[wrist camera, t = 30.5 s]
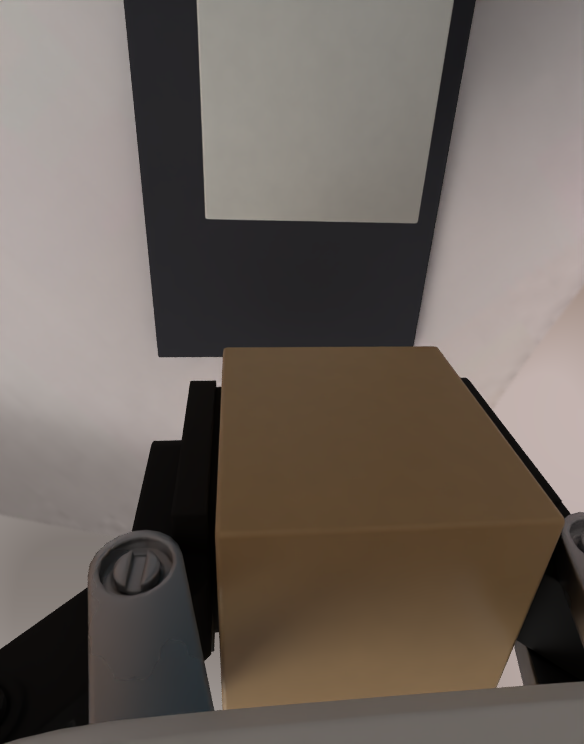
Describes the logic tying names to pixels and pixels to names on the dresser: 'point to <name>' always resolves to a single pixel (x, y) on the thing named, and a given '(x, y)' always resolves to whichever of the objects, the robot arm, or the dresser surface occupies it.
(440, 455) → the kraft box
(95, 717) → the robot arm
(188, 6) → the mat
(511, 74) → the dresser surface
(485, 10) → the dresser surface
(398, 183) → the cream box
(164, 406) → the dresser surface
